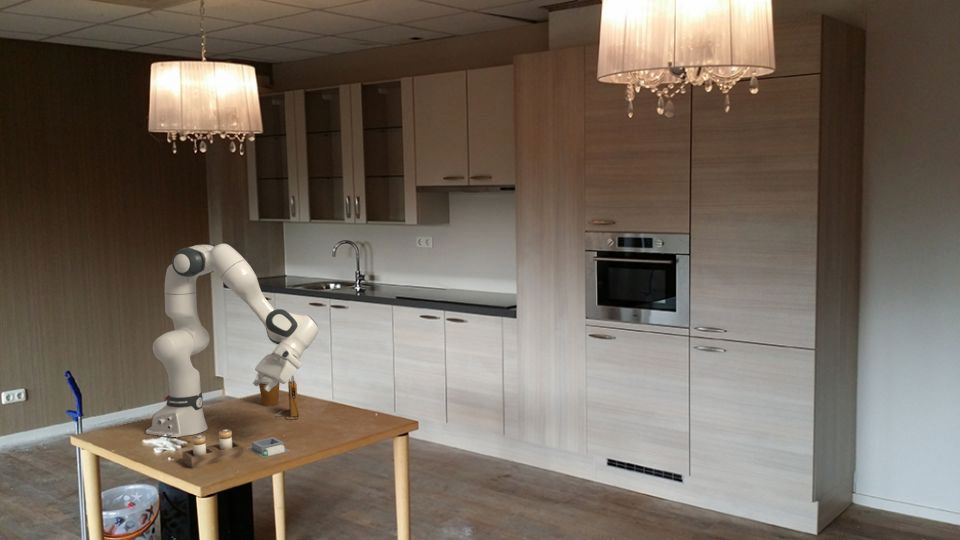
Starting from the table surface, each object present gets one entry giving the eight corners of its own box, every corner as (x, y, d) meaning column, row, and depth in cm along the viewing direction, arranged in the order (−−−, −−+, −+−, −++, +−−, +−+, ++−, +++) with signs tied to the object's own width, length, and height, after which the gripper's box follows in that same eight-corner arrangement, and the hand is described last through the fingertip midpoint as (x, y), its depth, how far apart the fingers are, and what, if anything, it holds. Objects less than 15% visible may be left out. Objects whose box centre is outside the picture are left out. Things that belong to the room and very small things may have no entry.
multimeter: (270, 412, 341) (268, 364, 339) (295, 410, 344) (293, 361, 342) (273, 422, 327) (270, 371, 325) (299, 419, 330) (296, 369, 328)
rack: (192, 471, 273) (191, 458, 273) (183, 465, 280) (182, 451, 279) (244, 459, 284) (243, 446, 283) (233, 453, 290) (233, 440, 290)
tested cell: (217, 457, 283) (216, 431, 282) (224, 453, 287) (223, 428, 286) (228, 458, 282) (226, 432, 281) (235, 454, 286) (233, 428, 285)
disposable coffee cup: (286, 403, 354) (285, 375, 353) (267, 408, 347) (265, 380, 346) (273, 400, 361) (271, 372, 359) (254, 405, 354) (252, 376, 352)
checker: (263, 460, 282) (262, 450, 282) (245, 450, 293) (245, 440, 293) (290, 453, 288) (290, 443, 288) (272, 444, 299) (272, 434, 299)
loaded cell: (191, 463, 277) (189, 437, 276) (198, 459, 281) (197, 433, 280) (202, 464, 276) (200, 438, 275) (209, 460, 280) (207, 434, 279)
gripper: (266, 346, 306) (241, 376, 301) (291, 355, 290) (266, 387, 285) (278, 356, 309) (254, 387, 304) (304, 366, 293) (279, 398, 288)
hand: (260, 387), depth 294 cm, fingers open, 8 cm apart
